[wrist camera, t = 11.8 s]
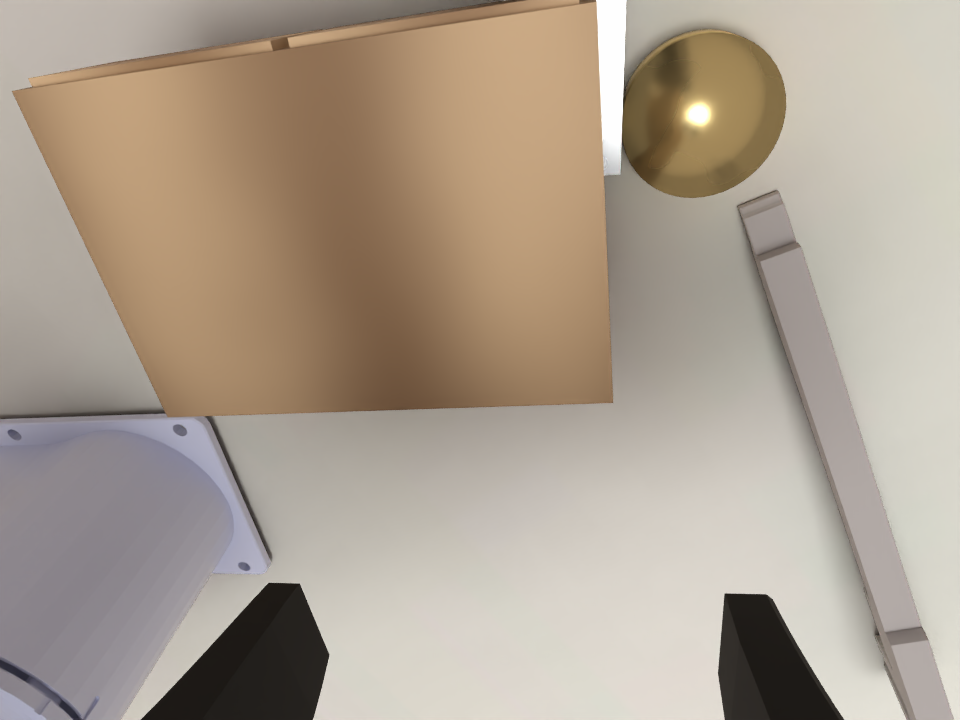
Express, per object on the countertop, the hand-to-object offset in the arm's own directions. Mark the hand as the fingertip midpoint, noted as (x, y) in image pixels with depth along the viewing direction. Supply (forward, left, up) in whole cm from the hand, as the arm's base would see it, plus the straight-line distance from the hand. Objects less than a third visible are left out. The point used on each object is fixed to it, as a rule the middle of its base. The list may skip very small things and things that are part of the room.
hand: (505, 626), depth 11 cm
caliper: (+9, -6, -10) cm, 15 cm away
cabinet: (-3, +6, -10) cm, 12 cm away
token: (+4, +6, -10) cm, 13 cm away
